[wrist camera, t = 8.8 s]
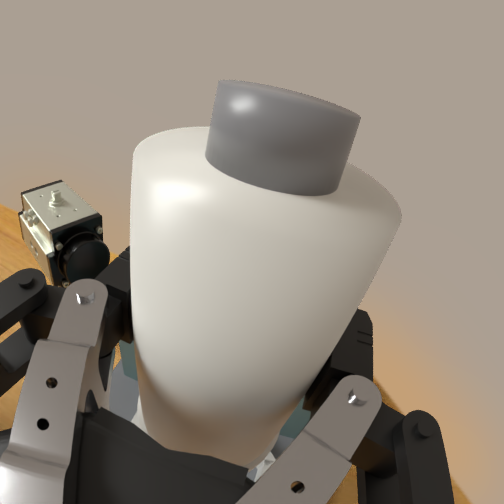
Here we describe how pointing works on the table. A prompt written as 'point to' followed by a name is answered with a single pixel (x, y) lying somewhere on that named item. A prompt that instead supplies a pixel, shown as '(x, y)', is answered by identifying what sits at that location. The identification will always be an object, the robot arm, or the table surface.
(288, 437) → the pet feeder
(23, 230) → the pneumatic valve
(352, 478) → the table surface
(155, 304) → the bottle
